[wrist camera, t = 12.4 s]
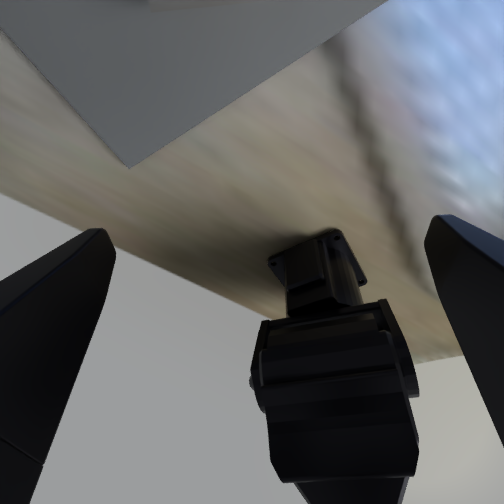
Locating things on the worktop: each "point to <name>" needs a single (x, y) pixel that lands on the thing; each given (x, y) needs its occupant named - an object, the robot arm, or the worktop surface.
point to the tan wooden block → (191, 4)
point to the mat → (165, 58)
